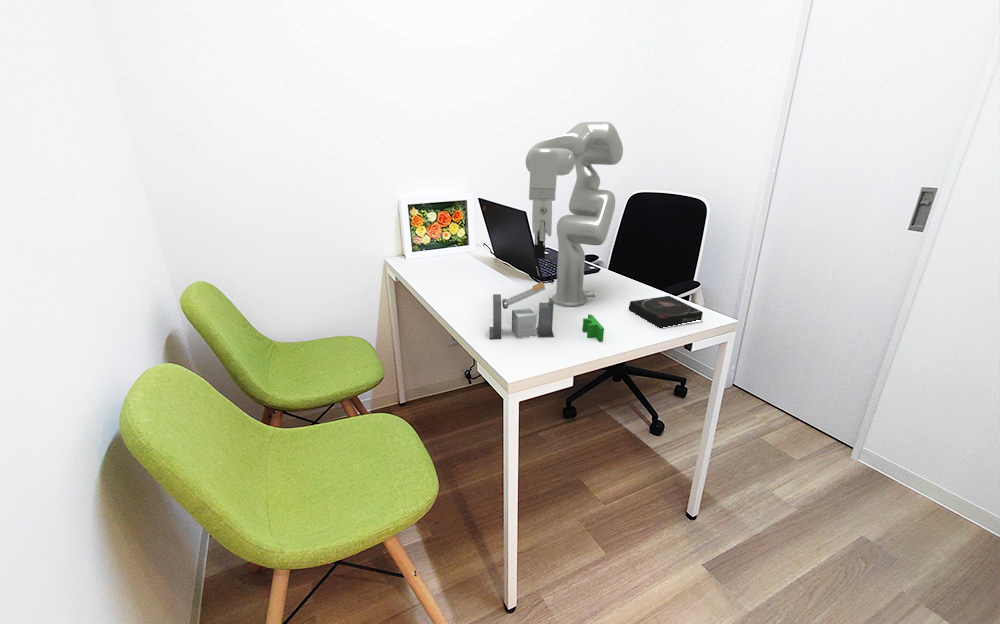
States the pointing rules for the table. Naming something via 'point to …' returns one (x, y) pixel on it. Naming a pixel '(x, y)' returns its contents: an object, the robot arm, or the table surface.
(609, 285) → the table surface
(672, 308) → the portable cd player
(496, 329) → the hinge post
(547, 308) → the lug block
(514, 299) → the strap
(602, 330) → the pipe clamp
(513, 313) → the product box
